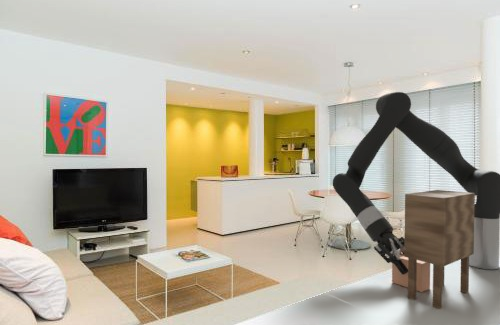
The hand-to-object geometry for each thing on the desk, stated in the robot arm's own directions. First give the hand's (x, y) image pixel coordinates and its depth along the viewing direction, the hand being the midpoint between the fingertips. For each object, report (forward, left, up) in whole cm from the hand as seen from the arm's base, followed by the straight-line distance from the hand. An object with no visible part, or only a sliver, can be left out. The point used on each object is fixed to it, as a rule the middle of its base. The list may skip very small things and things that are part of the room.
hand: (410, 271), depth 99 cm
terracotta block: (0, 0, -4) cm, 4 cm away
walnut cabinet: (0, +8, -4) cm, 9 cm away
